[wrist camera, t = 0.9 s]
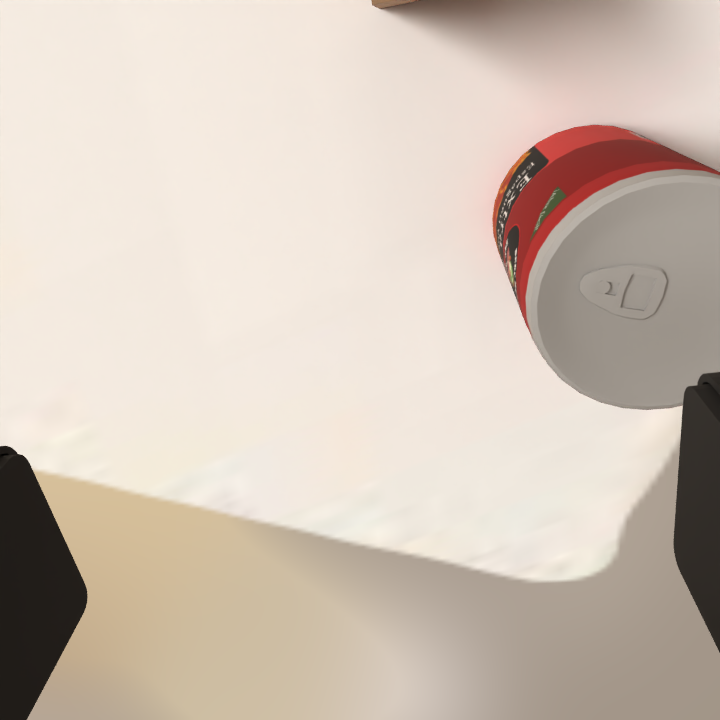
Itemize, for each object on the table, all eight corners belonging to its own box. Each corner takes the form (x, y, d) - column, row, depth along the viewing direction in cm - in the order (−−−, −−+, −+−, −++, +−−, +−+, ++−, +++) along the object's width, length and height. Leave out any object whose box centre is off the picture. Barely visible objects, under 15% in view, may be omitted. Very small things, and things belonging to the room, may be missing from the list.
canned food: (486, 132, 29) (526, 189, 19) (681, 110, 28) (829, 157, 18) (492, 299, 32) (529, 421, 22) (667, 284, 31) (785, 404, 21)
